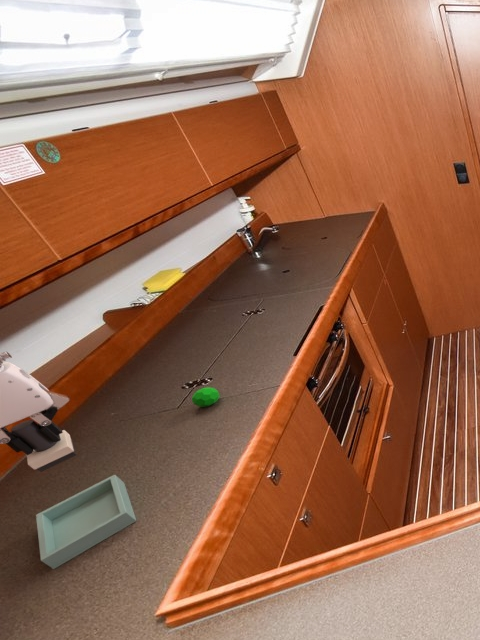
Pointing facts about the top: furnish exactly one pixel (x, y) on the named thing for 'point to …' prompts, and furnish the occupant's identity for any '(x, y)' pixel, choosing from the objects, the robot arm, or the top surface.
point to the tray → (83, 521)
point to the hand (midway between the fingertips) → (43, 443)
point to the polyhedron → (205, 397)
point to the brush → (44, 446)
